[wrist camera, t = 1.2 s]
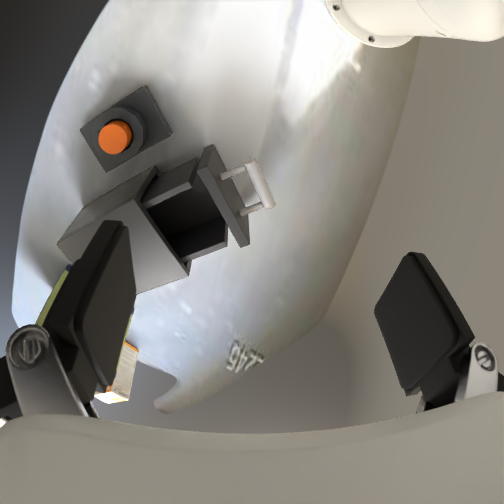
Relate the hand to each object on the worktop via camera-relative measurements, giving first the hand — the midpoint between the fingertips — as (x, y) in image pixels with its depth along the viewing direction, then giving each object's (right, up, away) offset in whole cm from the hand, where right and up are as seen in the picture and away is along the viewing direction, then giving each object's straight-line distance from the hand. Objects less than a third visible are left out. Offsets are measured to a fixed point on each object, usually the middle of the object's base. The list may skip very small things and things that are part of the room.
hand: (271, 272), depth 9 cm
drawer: (-7, +8, +27) cm, 29 cm away
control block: (-16, +16, +22) cm, 32 cm away
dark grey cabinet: (-17, +5, +30) cm, 35 cm away
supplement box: (-31, -22, +51) cm, 63 cm away
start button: (-16, +14, +20) cm, 29 cm away
